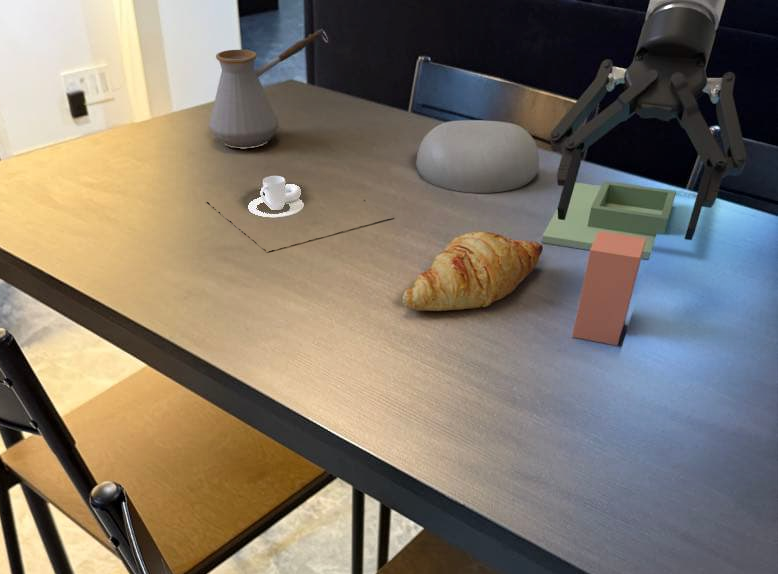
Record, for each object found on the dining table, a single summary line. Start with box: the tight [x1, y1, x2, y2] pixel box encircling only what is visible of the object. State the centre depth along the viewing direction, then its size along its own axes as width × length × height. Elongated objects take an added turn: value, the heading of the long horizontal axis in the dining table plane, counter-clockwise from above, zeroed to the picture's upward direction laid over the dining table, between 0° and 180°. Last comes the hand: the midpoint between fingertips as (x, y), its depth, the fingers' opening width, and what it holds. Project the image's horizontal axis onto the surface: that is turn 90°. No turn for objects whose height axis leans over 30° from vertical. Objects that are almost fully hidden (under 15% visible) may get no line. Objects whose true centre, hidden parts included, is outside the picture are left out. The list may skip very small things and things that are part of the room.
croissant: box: [402, 231, 543, 312], centre depth 90 cm, size 21×10×8 cm, turn 127°
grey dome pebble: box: [415, 119, 540, 194], centre depth 116 cm, size 19×7×16 cm
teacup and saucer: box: [248, 175, 304, 218], centre depth 108 cm, size 9×8×4 cm
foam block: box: [571, 231, 647, 346], centre depth 82 cm, size 5×5×10 cm
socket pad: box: [541, 180, 677, 260], centre depth 104 cm, size 20×20×4 cm
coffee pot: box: [208, 28, 330, 147], centre depth 125 cm, size 21×12×15 cm, turn 115°
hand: (623, 224), depth 81 cm, fingers open, 13 cm apart
